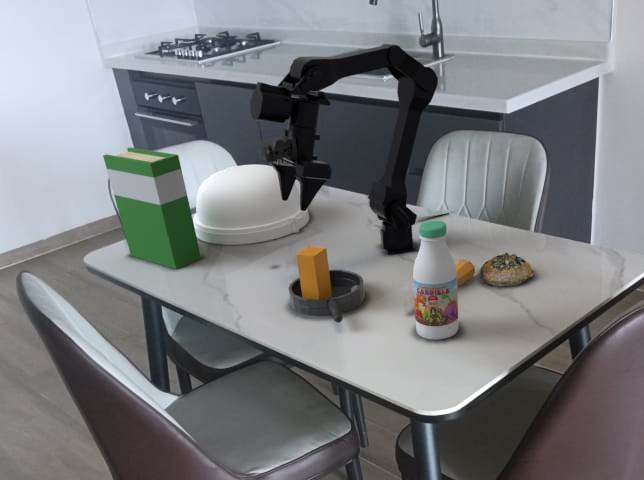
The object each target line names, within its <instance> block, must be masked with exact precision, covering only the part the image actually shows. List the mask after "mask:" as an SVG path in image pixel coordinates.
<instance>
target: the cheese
mask: <svg viewBox="0 0 644 480" xmlns="http://www.w3.org/2000/svg"><path fill="white" fill-rule="evenodd" d="M295 256H296V264H297V269H298V278H299V277H300V284H301V290H302V297H303V298H307V299H329V298H332V290H331V282H330V274H329V270H330V266H329V260H328V252H327V248H326V247H320V246H313V245H308V246H306V247H305V248H303V249H302V250H300V251H299V252H297V253H295Z"/></svg>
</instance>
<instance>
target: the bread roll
mask: <svg viewBox="0 0 644 480" xmlns="http://www.w3.org/2000/svg"><path fill="white" fill-rule="evenodd" d="M480 275H481V278H482V279H483V281H484V282H485V283H487V284H490V285H494V286H498V287H503V286H504V287H505V286H519V285H521V284H522V283H524V282H526V281H527V280H528V279H531V278H532V277H533V276H534V275H535V270H534V269H533V268H532V265H531V264H530V263H529V262H527V261H526V259H523V258H522V256H518V255H517V254H516V253H513V254H509V253H508V252H505V253H504V254H497V255H496V256H493V257H492V258H490V259H488V260H487V261H485V262H484V263H483V264H482V265H481V267H480Z"/></svg>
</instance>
